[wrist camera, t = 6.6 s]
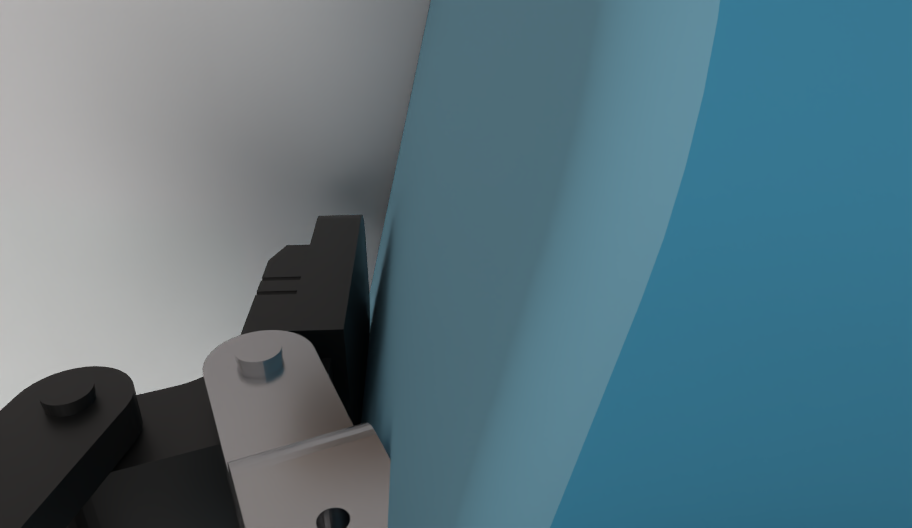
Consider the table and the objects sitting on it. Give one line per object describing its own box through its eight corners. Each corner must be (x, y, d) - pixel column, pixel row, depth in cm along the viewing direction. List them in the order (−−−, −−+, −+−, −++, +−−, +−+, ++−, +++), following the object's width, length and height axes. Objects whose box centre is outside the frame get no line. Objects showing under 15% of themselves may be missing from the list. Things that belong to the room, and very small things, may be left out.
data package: (528, 437, 18) (686, 1229, 8) (344, 409, 18) (235, 1233, 7) (717, -95, 13) (2132, 70, 2) (463, -163, 12) (785, -390, 2)
